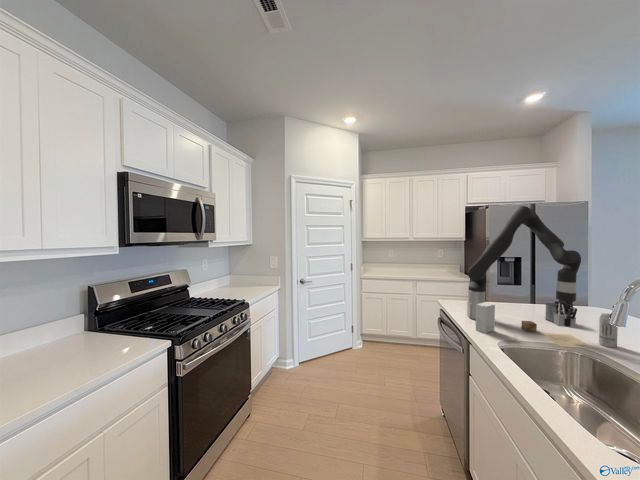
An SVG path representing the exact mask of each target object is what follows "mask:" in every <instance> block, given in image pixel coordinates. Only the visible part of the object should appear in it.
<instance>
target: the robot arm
mask: <svg viewBox="0 0 640 480" xmlns="http://www.w3.org/2000/svg"><path fill="white" fill-rule="evenodd" d="M522 225H524V226H526V227H527V228H528V229H530V230H531V231H532V232H533V233H534V235H536V237H537V239H538V241H540V243H541V244H542V245H543V246H544V247H545V248H546V249H547V250H548V251H549V253H550V255H551V257H552V259H553V260H554V261H555V262H556V263H558V264H559V265H562V266H563V267H562V268H561V269H559V270H557V276H556V277H557V280H556V287H555V288H556V289H555V299H556V300H558V301H554V303H555V309H556V313H558V314H563V315H565V323H564V325H565V326H567V327H566V328H571V327H570V325H571V319H575V317H576V316H577V312H578V308H576V307H574V304H573V302H576V301H577V274H578V271H579V269H580V266H581V263H582V256H581V254H580V253H579V252H578V251H576V250H573V249H571V250H566V249H565V248H564V247H565V243H564V241H563V240H562V239H561V238H560V237H558V236H557V235H556V234H555V232H553V231H552V230H550V229H549V228H548V227H547V225H545V223H544V222H543V221H542V219H540V217H539V215H538V214H537V212H536V211H535V210H533V209H532V208H530V207H528V206H525V205H520V206H518V207H516V208H515V209H514V211H513V212H512V213H511V214H510V216H509V218H508V219H507V220H506V222H505V224H504V225H503V226H502V227H501V229H500V230H499V231H498V232H497V234H496V235H495V236H494V237H493V239H492V240H491V241H490V243H488V245H487V247H486V248H485V249H484V251H483V253H482V254H481V255H480V257H479V258H478V259H477V260H476V261H475V263H473V264H472V266H470V267H469V269H468V270H467V276H468V278H469V284H468V300H467V302H466V303H467V304H466V306H467V307H466V309H467V310H466V311H467V312H466V317H468V318H469V319H471V320H472V319H473V320H476V304H480V303H484V302H486V289H487V288H486V287H487V272H488V271H489V268H491V266H492V265H493V264H494V263H496V261H498V260H499V259H500V258H501V257H502V256H503V255H504V254H505V252H507V250H508V249H509V248H510V247H511V245H512V243H513V241H514V236H515V234H516V232H517V230H518V229H519V228H520V227H521V226H522ZM567 314H568V316H567Z"/></svg>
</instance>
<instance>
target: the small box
mask: <svg viewBox="0 0 640 480" xmlns="http://www.w3.org/2000/svg"><path fill="white" fill-rule="evenodd" d="M554 314H558V313H556V309H555V302H552V303H551V302H545V321H548V322H551V323H553V324H554ZM567 315H568V314H567Z"/></svg>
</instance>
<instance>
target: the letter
mask: <svg viewBox="0 0 640 480" xmlns="http://www.w3.org/2000/svg"><path fill="white" fill-rule="evenodd" d="M539 333H540V334H541V335H542V336H544V337H545V338H547V339H549V340H550V341H551V342H554V344H556V345H558V346H560V347H568V348H569V347H570V348H581V349H582V348H583V349H595V350H596V348H595V347H594V346H591V345H590V344H588V343H586V342H585V341H582V340H581V339H579V338H577V337H575V336H574V335H572V334H569V333H556V332H555V333H553V332H552V333H551V332H539Z"/></svg>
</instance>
